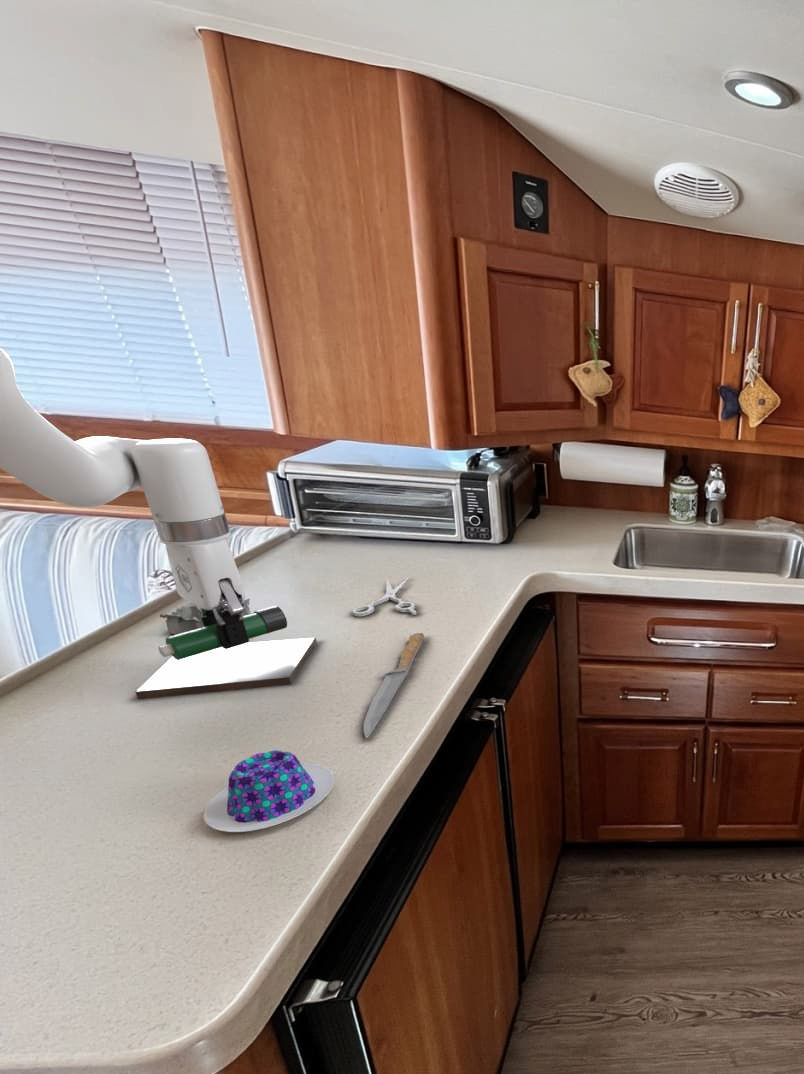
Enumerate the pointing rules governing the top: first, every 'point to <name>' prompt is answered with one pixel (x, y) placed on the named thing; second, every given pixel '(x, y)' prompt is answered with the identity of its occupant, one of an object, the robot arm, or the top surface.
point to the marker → (209, 638)
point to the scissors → (388, 596)
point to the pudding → (267, 792)
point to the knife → (391, 684)
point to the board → (230, 668)
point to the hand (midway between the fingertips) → (228, 640)
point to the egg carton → (191, 618)
